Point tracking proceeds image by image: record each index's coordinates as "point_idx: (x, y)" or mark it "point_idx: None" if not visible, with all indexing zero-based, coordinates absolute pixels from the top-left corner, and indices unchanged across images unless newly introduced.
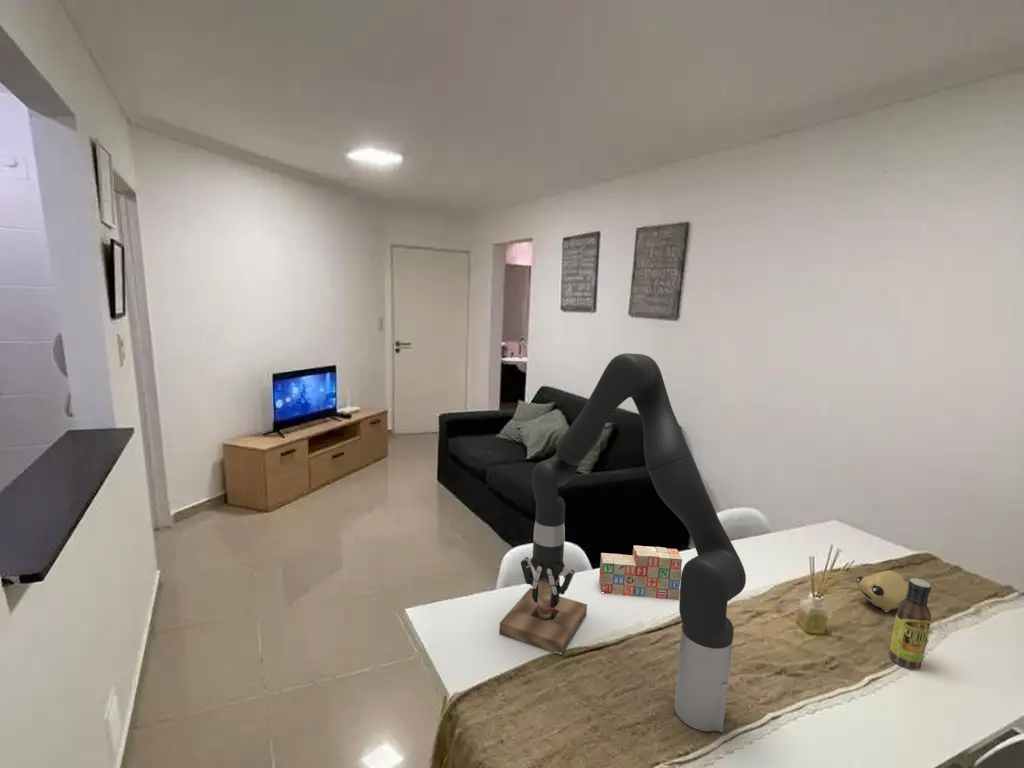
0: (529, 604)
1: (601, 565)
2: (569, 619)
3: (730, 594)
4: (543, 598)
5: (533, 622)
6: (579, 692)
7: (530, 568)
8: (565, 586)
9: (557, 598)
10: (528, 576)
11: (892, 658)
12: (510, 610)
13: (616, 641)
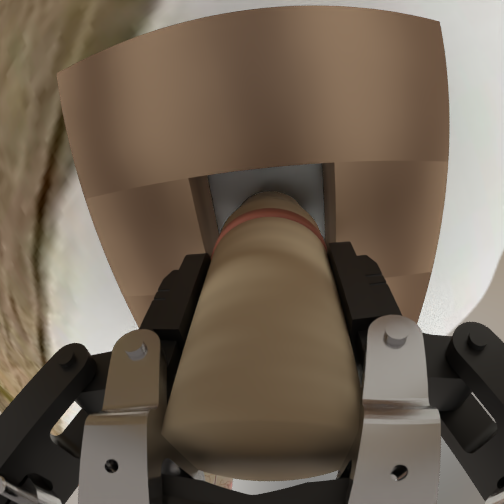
0: (380, 256)
1: (216, 477)
2: (136, 257)
3: None
4: (253, 263)
5: (278, 108)
6: (5, 10)
7: (480, 475)
8: (16, 406)
9: (147, 316)
10: (499, 401)
11: None
12: (448, 152)
13: (40, 266)
